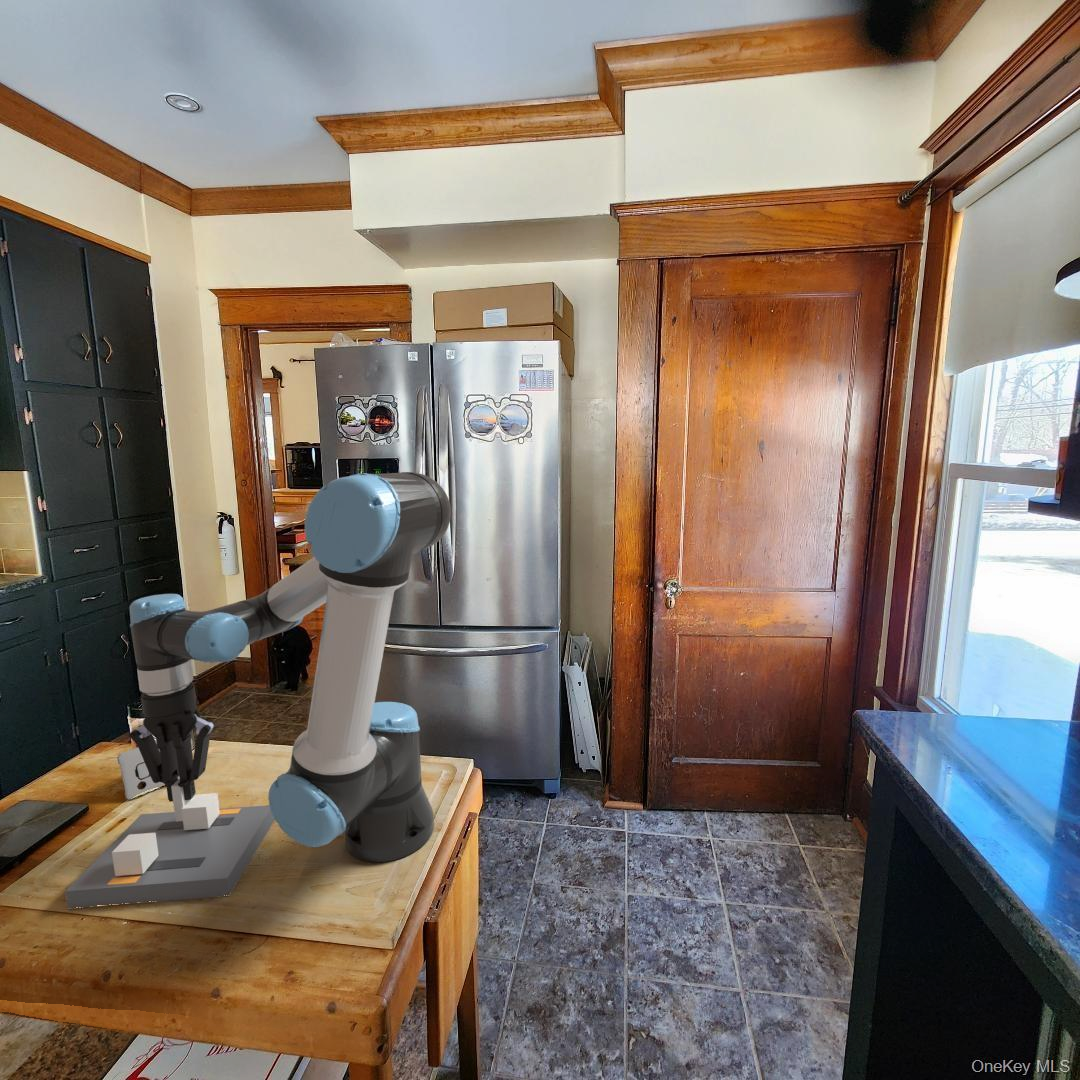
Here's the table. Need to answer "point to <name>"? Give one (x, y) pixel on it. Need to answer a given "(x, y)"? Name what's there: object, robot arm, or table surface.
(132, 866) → the tab left
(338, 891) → the table surface
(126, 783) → the electrical switch
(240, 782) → the table surface
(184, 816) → the tab right
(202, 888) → the switch panel
